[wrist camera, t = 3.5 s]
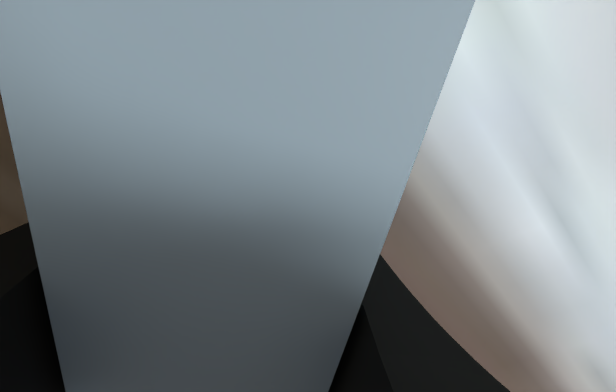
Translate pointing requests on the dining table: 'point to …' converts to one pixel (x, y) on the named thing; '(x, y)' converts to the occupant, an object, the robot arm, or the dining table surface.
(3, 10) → the rail
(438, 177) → the dining table surface
